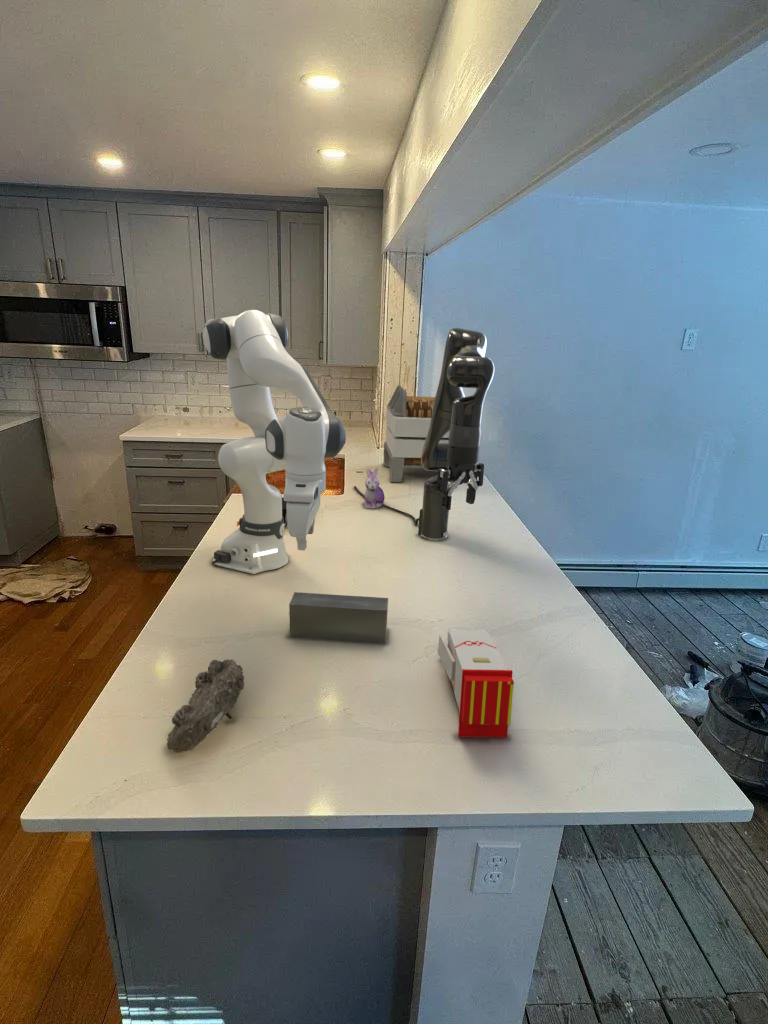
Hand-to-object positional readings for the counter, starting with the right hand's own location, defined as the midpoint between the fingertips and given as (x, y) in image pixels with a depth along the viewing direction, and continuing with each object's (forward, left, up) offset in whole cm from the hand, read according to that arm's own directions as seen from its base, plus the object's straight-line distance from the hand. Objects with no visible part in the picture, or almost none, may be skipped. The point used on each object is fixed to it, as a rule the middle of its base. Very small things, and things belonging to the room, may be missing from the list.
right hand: (458, 506), depth 141 cm
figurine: (-65, +54, -29) cm, 89 cm away
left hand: (-22, -32, -5) cm, 39 cm away
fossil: (-15, -65, -29) cm, 73 cm away
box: (-15, -27, -29) cm, 43 cm away
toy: (+20, -28, -29) cm, 45 cm away
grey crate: (-76, +107, -29) cm, 135 cm away
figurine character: (-78, +17, -29) cm, 85 cm away
